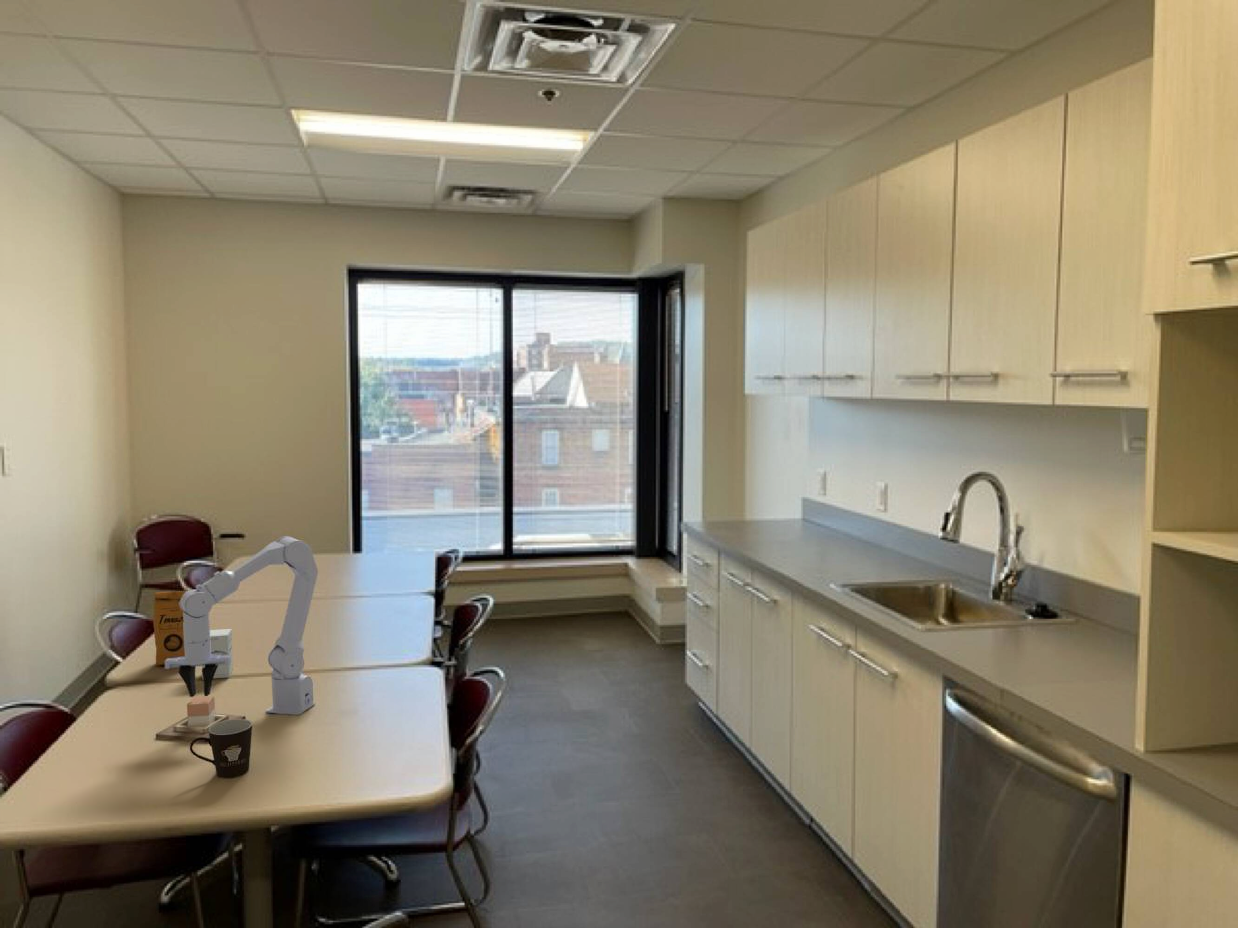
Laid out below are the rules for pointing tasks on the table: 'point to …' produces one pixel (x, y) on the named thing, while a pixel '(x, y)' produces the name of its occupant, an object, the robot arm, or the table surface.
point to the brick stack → (201, 711)
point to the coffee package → (168, 626)
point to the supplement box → (222, 650)
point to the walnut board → (192, 729)
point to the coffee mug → (229, 747)
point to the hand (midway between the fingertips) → (200, 695)
